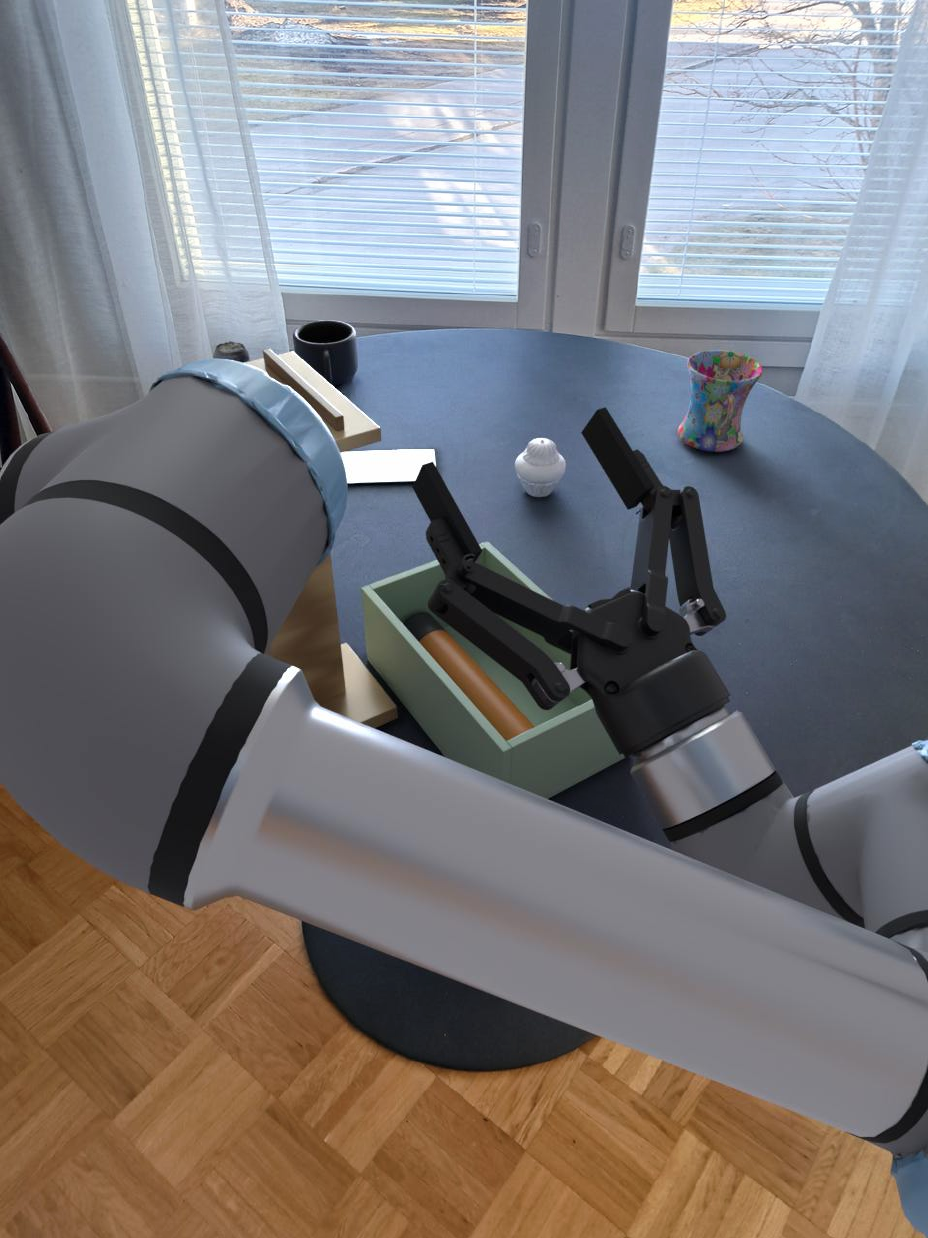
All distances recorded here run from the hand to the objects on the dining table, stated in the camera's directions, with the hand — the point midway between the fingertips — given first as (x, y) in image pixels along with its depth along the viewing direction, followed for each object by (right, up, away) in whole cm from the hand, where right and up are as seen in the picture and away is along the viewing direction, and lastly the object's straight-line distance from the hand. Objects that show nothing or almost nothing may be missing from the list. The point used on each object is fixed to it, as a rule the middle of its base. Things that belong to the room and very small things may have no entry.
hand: (511, 445), depth 57 cm
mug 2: (+30, +11, +59) cm, 67 cm away
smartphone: (-15, +8, +53) cm, 56 cm away
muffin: (+6, +4, +50) cm, 50 cm away
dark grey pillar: (-33, +13, +59) cm, 69 cm away
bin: (-1, -19, +22) cm, 29 cm away
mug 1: (-23, +23, +72) cm, 79 cm away
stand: (-17, -20, +22) cm, 34 cm away
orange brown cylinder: (-3, -19, +21) cm, 28 cm away
